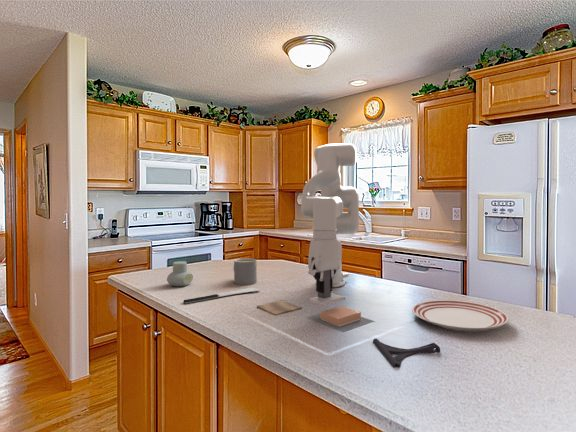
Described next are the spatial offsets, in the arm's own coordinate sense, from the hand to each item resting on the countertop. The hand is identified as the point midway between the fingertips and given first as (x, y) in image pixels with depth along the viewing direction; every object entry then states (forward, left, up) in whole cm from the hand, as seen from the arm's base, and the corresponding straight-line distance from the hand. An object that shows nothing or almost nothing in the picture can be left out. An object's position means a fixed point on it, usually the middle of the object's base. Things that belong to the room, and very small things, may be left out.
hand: (324, 290), depth 121 cm
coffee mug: (-4, -56, -8) cm, 57 cm away
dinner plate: (-29, +30, -9) cm, 43 cm away
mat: (0, +7, -8) cm, 11 cm away
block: (0, +3, -6) cm, 7 cm away
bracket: (+3, +34, -9) cm, 35 cm away
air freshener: (+21, -68, -8) cm, 72 cm away
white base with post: (0, +2, -3) cm, 3 cm away
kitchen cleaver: (+15, -42, -9) cm, 46 cm away
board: (+8, -14, -8) cm, 18 cm away
